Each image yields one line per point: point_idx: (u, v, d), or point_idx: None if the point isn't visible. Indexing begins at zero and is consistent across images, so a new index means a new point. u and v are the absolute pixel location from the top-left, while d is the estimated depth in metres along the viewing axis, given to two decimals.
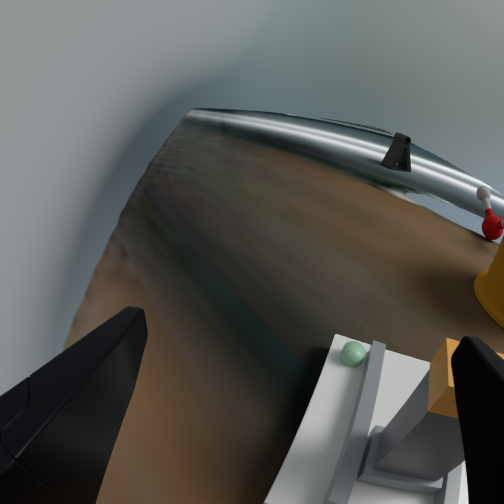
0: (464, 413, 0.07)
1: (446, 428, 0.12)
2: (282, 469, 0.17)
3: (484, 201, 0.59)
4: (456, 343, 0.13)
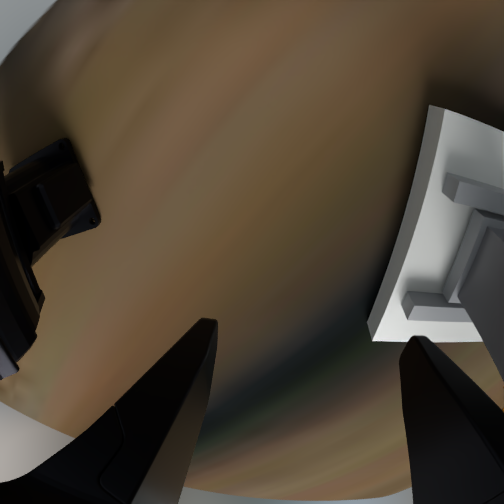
0: (411, 419, 0.07)
1: None
2: (482, 124, 0.13)
3: None
4: None
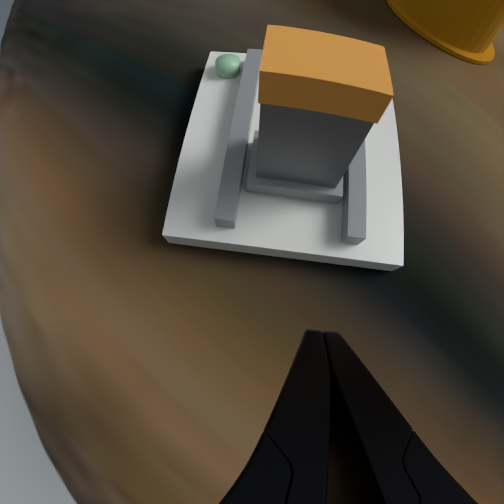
0: None
1: (297, 122, 0.14)
2: (171, 196, 0.21)
3: None
4: (281, 28, 0.11)
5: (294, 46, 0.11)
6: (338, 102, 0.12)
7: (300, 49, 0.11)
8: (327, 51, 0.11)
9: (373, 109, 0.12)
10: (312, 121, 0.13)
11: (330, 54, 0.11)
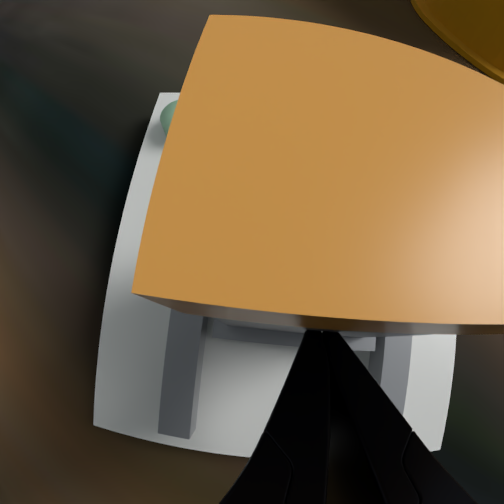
0: None
1: None
2: (98, 369, 0.12)
3: None
4: (258, 25, 0.03)
5: (314, 105, 0.03)
6: (447, 331, 0.03)
7: (341, 122, 0.03)
8: (444, 133, 0.03)
9: None
10: None
11: (456, 149, 0.03)
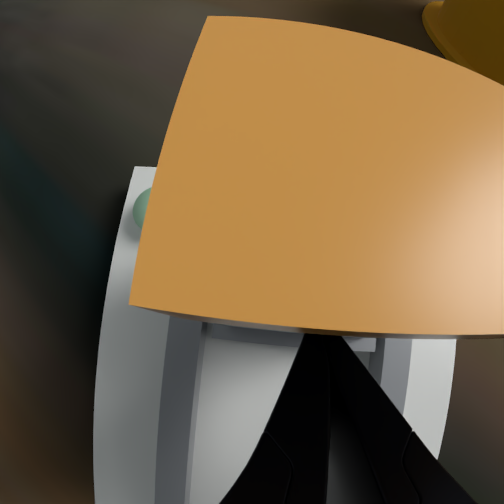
0: None
1: None
2: (95, 465, 0.11)
3: None
4: (258, 27, 0.03)
5: (314, 111, 0.03)
6: (447, 338, 0.03)
7: (342, 128, 0.03)
8: (447, 138, 0.03)
9: None
10: None
11: (459, 155, 0.03)
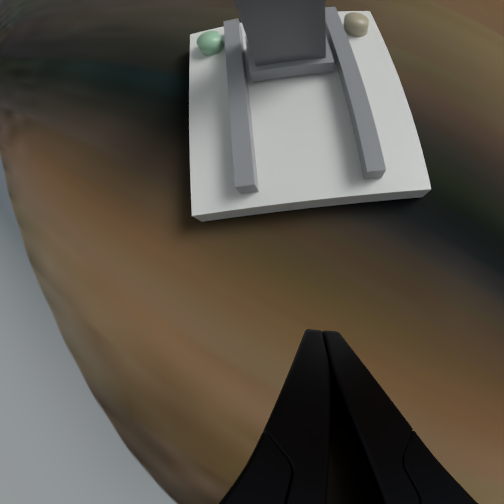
0: None
1: (266, 0, 0.14)
2: (191, 177, 0.21)
3: None
4: None
5: None
6: None
7: None
8: None
9: None
10: None
11: None
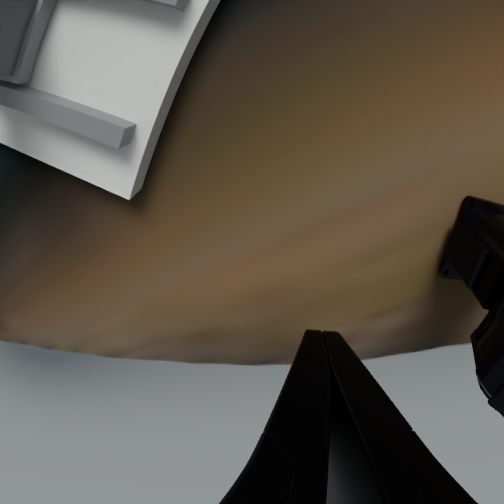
0: None
1: None
2: (93, 182, 0.18)
3: None
4: None
5: None
6: None
7: None
8: None
9: None
10: None
11: None
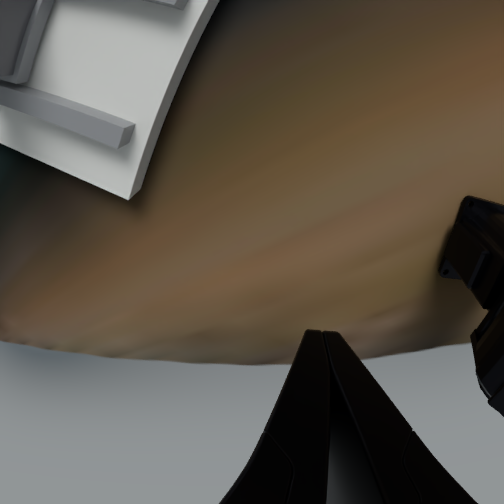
0: None
1: None
2: (92, 182, 0.18)
3: None
4: None
5: None
6: None
7: None
8: None
9: None
10: None
11: None
